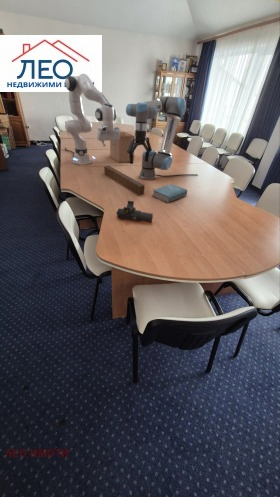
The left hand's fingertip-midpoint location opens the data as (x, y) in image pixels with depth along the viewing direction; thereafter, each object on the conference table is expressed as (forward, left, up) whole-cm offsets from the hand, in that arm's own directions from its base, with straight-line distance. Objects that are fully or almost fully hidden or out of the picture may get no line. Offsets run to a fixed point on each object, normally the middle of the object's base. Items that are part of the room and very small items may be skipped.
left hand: (109, 145), depth 188 cm
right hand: (+40, +18, -2) cm, 44 cm away
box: (-58, +19, -26) cm, 66 cm away
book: (+49, +42, -26) cm, 70 cm away
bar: (+20, +9, -26) cm, 34 cm away
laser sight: (+84, +7, -26) cm, 88 cm away
